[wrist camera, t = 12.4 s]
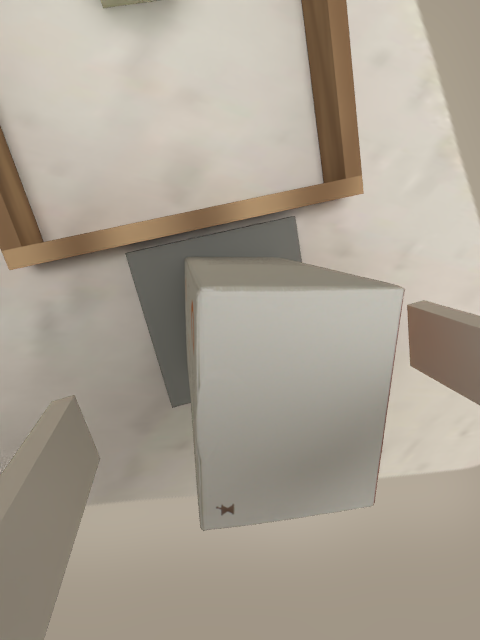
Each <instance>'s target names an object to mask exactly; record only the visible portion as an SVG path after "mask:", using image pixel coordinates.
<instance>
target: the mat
mask: <svg viewBox="0 0 480 640" xmlns="http://www.w3.org/2000/svg"><path fill="white" fill-rule="evenodd" d="M125 254H126V257H127V260H128V264H129V267H130V270H131V274H132V277H133V280H134V283H135V287H136V290H137V293H138V297H139V300H140V303H141V306H142V310H143V313H144V316H145V320H146V323H147V326H148V329H149V333H150V336H151V339H152V343H153V346H154V349H155V352H156V356H157V359H158V362H159V366H160V369H161V372H162V375H163V379H164V382H165V385H166V389H167V392H168V395H169V398H170V402H171V405H172V408H173V407H177V406H181V405H184V404H188V403H191V395H190V386H189V375H188V365H187V346H186V315H185V258H186V257H279V258H283V259H287V260H292V261H297V262H301V263H302V259H301V252H300V246H299V239H298V232H297V226H296V219H295V216H293V217H288V218H283V219H279V220H274V221H270V222H265V223H261V224H256V225H252V226H247V227H242V228H238V229H233V230H229V231H224V232H220V233H215V234H211V235H206V236H201V237H197V238H192V239H188V240H183V241H179V242H174V243H170V244H165V245H160V246H156V247H151V248H147V249H142V250H138V251H133V252H129V253H125Z"/></svg>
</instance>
